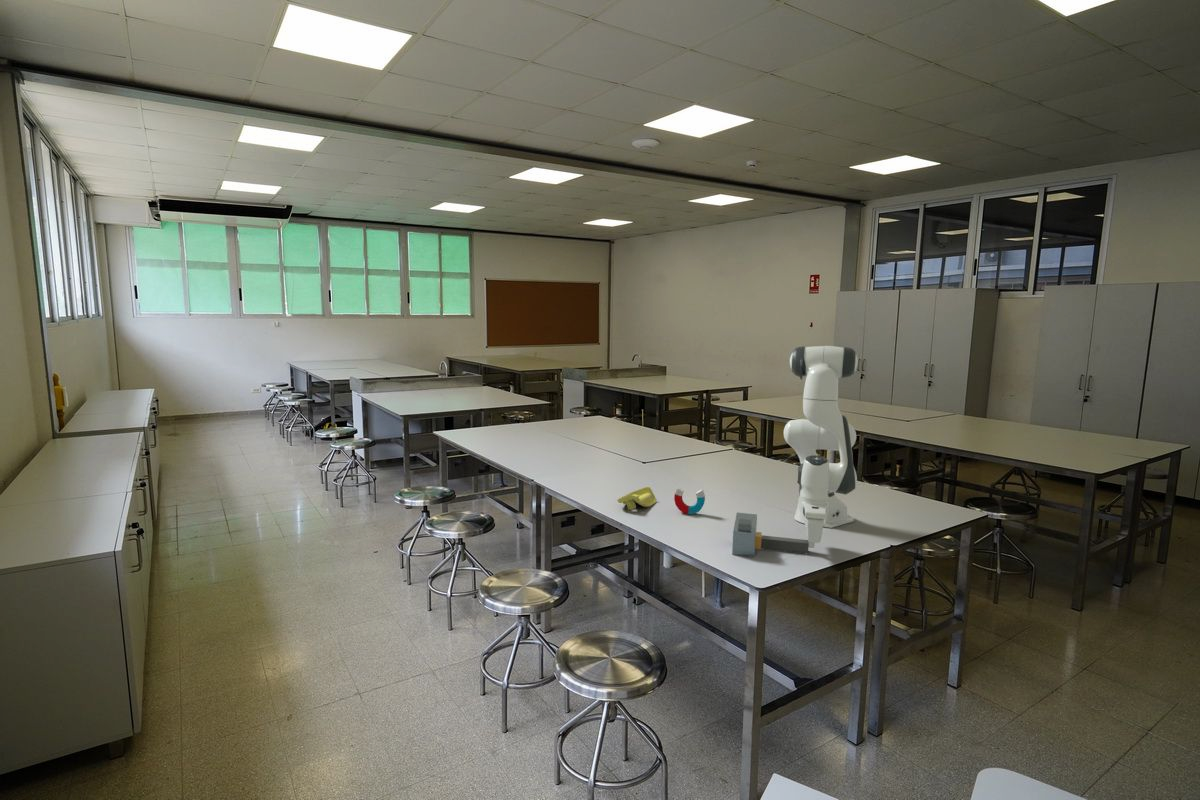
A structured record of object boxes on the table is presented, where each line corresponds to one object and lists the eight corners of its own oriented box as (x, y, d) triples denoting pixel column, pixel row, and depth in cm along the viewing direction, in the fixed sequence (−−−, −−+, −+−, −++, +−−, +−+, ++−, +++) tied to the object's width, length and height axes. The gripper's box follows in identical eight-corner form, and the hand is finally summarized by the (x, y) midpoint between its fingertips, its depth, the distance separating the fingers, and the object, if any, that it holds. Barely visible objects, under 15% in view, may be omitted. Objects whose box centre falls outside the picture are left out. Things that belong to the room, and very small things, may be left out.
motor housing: (756, 536, 213) (757, 507, 212) (754, 557, 194) (755, 526, 193) (735, 534, 215) (737, 505, 214) (732, 554, 196) (733, 523, 195)
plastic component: (631, 492, 257) (651, 485, 254) (637, 508, 257) (657, 501, 253) (613, 501, 239) (634, 493, 235) (619, 519, 238) (641, 511, 235)
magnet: (704, 514, 237) (705, 489, 236) (703, 516, 235) (704, 491, 233) (674, 510, 241) (675, 486, 239) (673, 512, 238) (674, 488, 237)
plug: (807, 549, 201) (808, 537, 201) (808, 554, 197) (809, 541, 197) (742, 542, 207) (742, 530, 206) (741, 547, 203) (742, 534, 202)
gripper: (801, 496, 208) (799, 534, 209) (805, 514, 188) (802, 556, 190) (821, 497, 206) (818, 536, 208) (826, 516, 186) (823, 558, 188)
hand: (810, 546), depth 199 cm, fingers closed
